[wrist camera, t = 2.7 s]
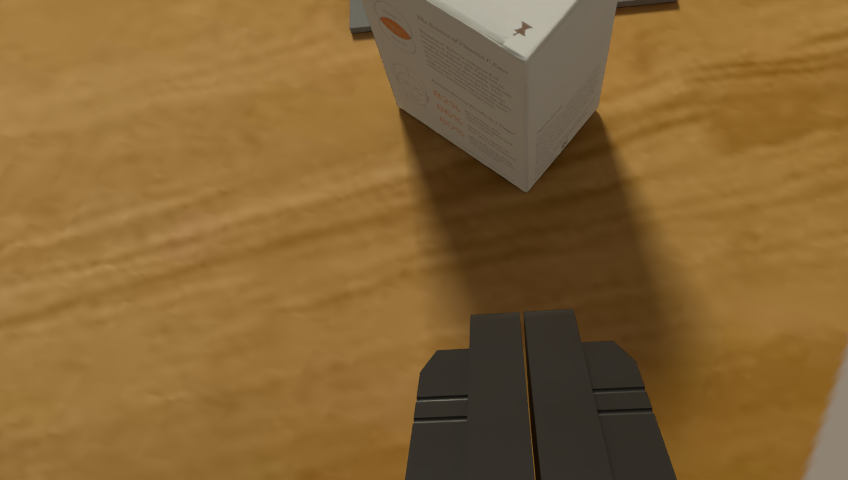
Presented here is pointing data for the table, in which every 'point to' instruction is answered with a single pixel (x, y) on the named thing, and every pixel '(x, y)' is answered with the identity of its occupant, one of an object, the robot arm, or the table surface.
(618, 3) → the e-reader
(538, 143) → the small box
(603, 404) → the robot arm
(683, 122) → the table surface
